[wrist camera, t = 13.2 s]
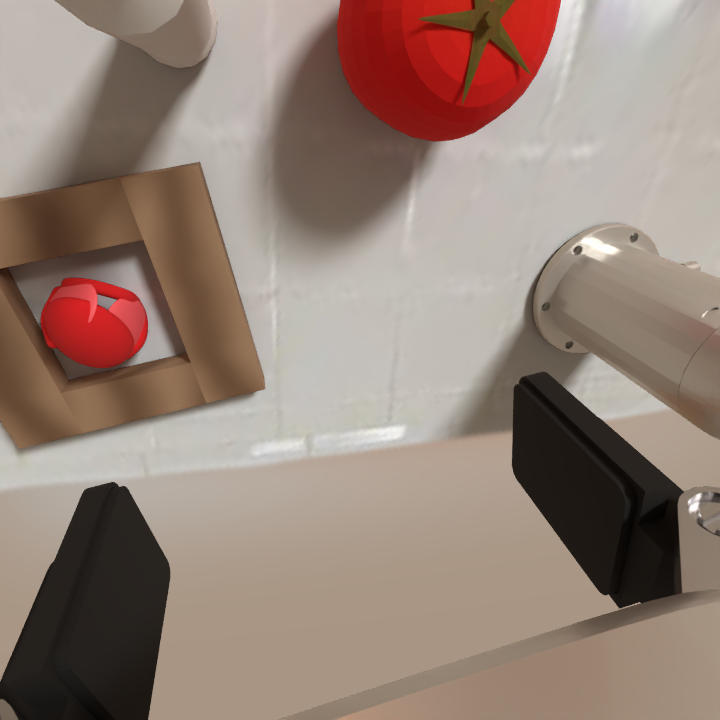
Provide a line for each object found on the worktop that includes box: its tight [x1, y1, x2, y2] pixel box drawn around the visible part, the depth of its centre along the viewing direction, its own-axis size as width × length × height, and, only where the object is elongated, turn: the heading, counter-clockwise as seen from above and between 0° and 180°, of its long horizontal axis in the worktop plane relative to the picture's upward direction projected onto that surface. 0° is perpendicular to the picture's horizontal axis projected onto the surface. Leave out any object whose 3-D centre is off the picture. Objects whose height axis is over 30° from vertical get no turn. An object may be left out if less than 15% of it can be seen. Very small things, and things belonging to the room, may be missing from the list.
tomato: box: [337, 0, 561, 141], centre depth 26 cm, size 12×12×13 cm
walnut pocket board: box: [0, 162, 265, 449], centre depth 35 cm, size 20×18×2 cm
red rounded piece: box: [41, 278, 148, 368], centre depth 34 cm, size 8×6×6 cm
